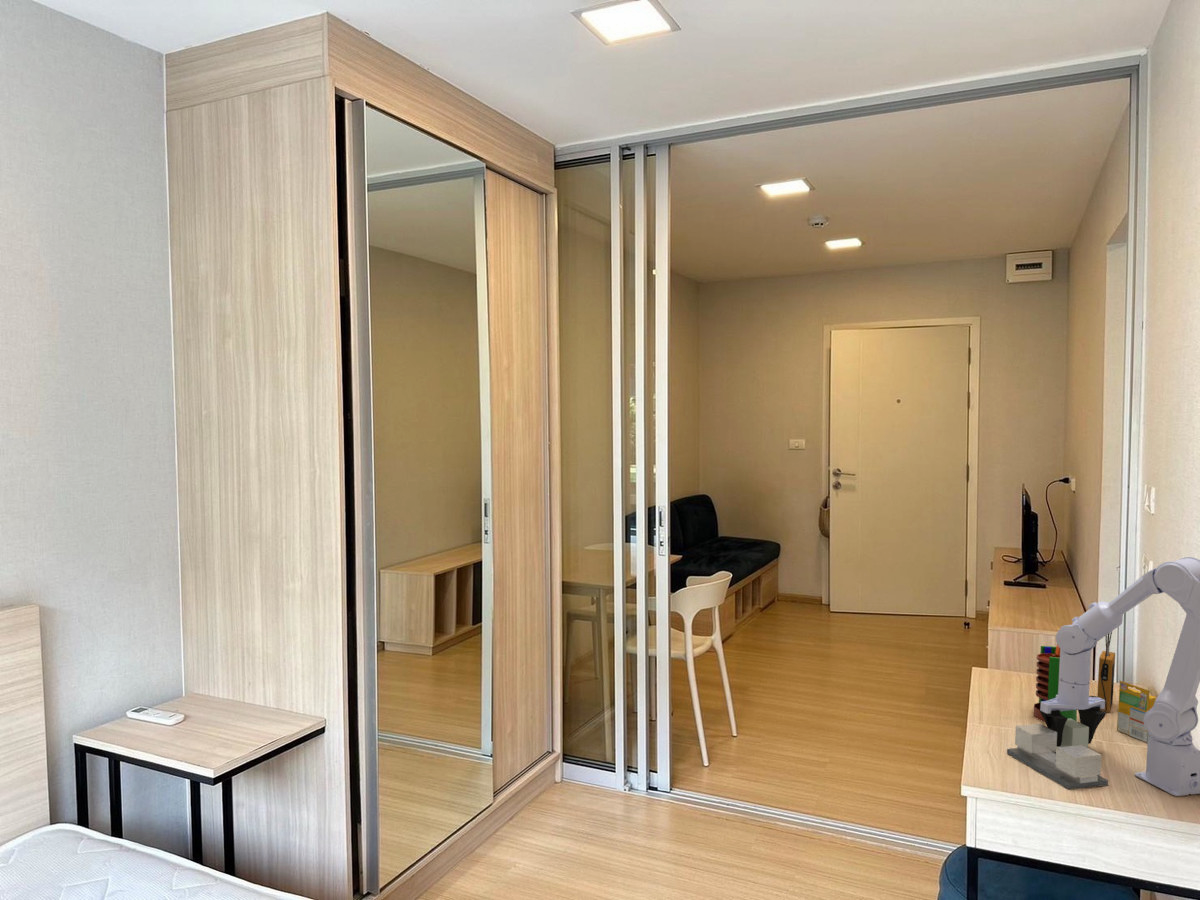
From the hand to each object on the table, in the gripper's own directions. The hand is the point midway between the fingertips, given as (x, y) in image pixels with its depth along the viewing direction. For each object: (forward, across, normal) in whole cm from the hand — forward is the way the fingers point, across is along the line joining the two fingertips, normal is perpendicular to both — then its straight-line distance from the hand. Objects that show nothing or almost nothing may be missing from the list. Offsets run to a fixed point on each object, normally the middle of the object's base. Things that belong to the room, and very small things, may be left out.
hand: (1070, 743), depth 183 cm
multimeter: (+2, -26, -23) cm, 35 cm away
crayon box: (+2, -21, -4) cm, 21 cm away
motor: (+2, -11, -17) cm, 20 cm away
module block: (+2, 0, 0) cm, 2 cm away
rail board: (+2, +10, +7) cm, 12 cm away
